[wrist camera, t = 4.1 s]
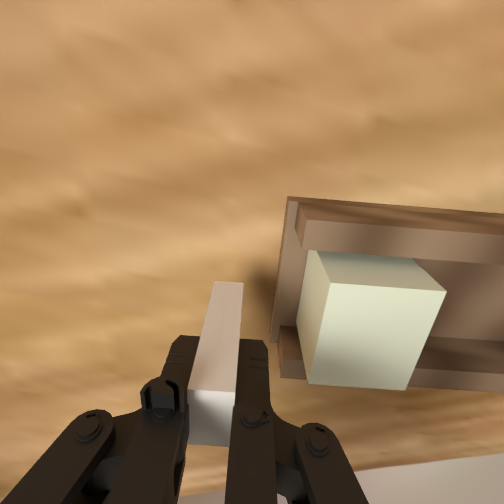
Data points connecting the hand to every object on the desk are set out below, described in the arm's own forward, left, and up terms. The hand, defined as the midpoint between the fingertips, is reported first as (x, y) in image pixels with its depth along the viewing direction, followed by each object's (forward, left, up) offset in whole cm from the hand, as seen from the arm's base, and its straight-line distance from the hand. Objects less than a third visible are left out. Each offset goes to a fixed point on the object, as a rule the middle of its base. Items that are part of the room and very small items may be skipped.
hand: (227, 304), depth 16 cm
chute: (+13, 0, -4) cm, 14 cm away
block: (+7, 0, -3) cm, 7 cm away
